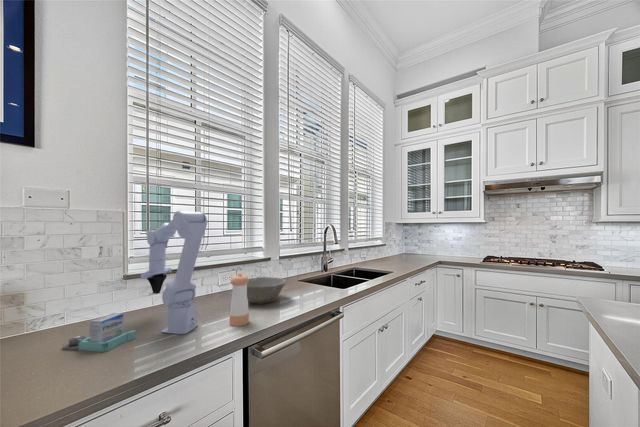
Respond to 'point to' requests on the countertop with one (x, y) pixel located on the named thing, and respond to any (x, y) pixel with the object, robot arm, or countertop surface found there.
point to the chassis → (87, 345)
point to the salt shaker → (239, 301)
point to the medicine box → (106, 327)
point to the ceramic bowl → (264, 289)
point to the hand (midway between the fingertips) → (156, 293)
